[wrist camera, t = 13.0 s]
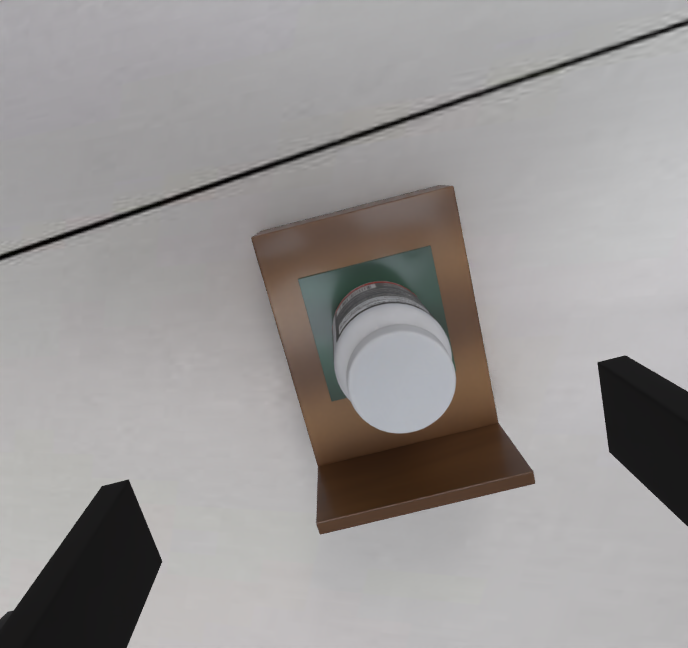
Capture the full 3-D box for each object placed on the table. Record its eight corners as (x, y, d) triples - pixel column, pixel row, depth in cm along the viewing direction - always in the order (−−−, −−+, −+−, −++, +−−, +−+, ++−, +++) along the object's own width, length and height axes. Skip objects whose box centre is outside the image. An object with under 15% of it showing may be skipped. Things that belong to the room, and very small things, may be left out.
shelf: (258, 231, 35) (233, 249, 25) (439, 185, 34) (483, 185, 25) (321, 447, 39) (319, 535, 29) (483, 408, 39) (535, 484, 29)
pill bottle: (417, 375, 33) (454, 453, 24) (326, 365, 33) (326, 440, 23) (433, 284, 32) (479, 329, 22) (338, 272, 31) (343, 312, 22)
